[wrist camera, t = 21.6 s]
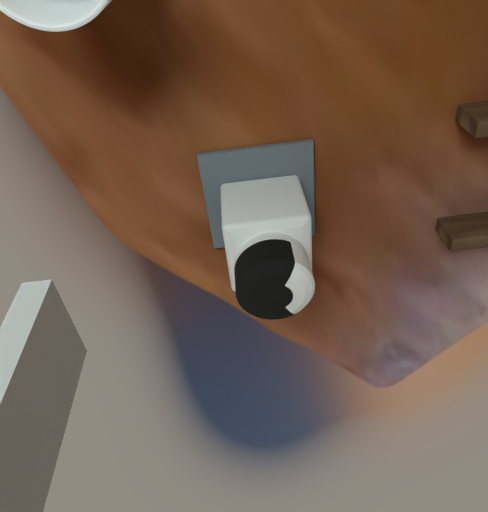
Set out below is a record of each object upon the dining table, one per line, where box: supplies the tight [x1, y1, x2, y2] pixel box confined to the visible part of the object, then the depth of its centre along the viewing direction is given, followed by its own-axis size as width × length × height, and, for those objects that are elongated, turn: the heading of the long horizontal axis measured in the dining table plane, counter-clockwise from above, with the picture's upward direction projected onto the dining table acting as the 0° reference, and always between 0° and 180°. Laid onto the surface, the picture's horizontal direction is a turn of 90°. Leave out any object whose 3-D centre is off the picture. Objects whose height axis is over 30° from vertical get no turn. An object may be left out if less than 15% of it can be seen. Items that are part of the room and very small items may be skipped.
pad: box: [197, 139, 315, 248], centre depth 47 cm, size 11×11×1 cm
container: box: [220, 175, 315, 319], centre depth 42 cm, size 8×8×13 cm
